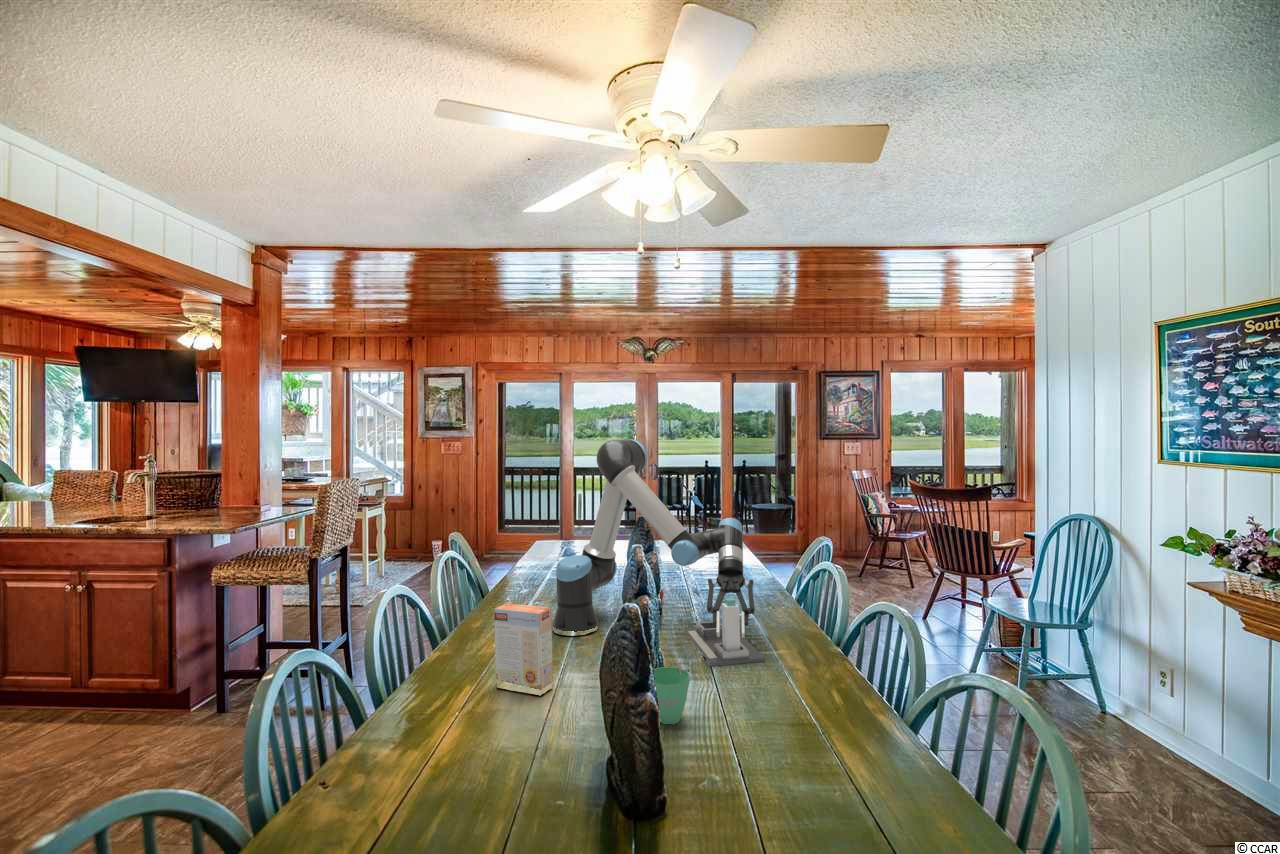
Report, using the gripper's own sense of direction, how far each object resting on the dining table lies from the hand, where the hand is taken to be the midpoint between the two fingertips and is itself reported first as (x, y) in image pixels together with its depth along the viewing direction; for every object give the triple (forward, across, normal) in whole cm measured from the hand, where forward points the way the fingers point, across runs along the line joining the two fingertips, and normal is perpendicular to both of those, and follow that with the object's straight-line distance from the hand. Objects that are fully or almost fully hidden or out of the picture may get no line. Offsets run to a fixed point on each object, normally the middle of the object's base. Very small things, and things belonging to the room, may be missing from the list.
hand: (730, 634), depth 171 cm
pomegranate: (-34, +32, -45) cm, 65 cm away
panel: (-4, +3, -15) cm, 15 cm away
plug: (+2, 0, -7) cm, 8 cm away
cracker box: (+22, +52, +11) cm, 58 cm away
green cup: (+31, +15, +20) cm, 40 cm away
